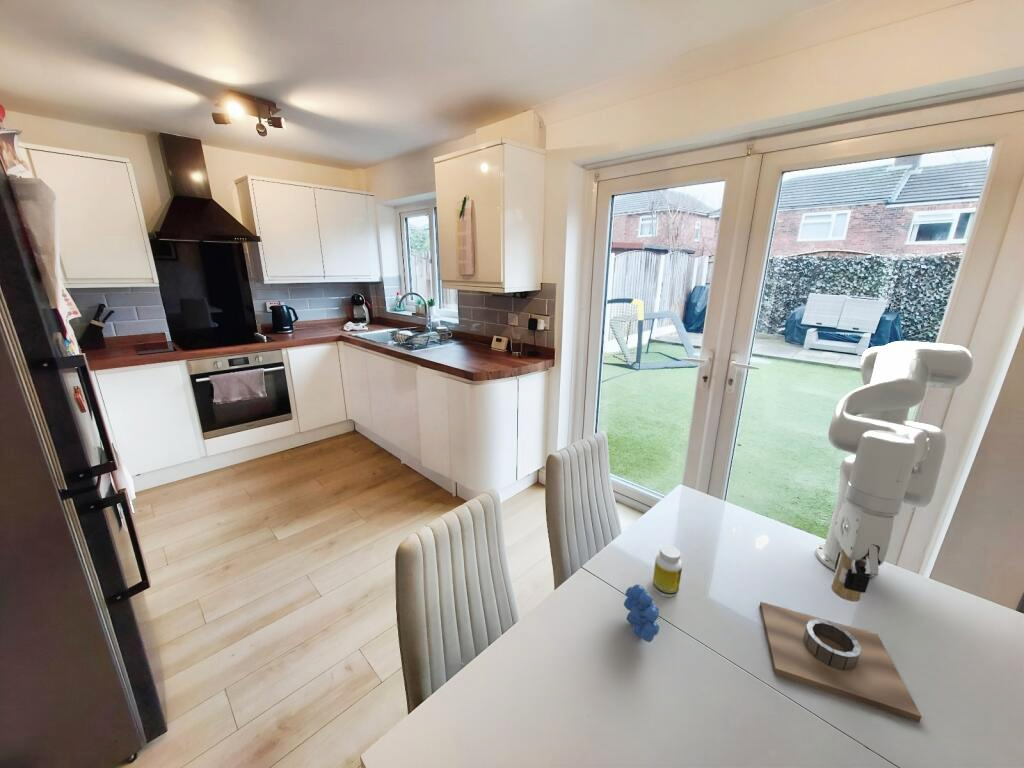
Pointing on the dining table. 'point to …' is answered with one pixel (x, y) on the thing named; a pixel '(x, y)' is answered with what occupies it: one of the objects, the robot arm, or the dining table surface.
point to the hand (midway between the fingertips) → (849, 579)
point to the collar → (825, 652)
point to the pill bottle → (667, 571)
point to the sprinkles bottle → (840, 577)
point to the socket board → (863, 684)
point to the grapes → (642, 612)
